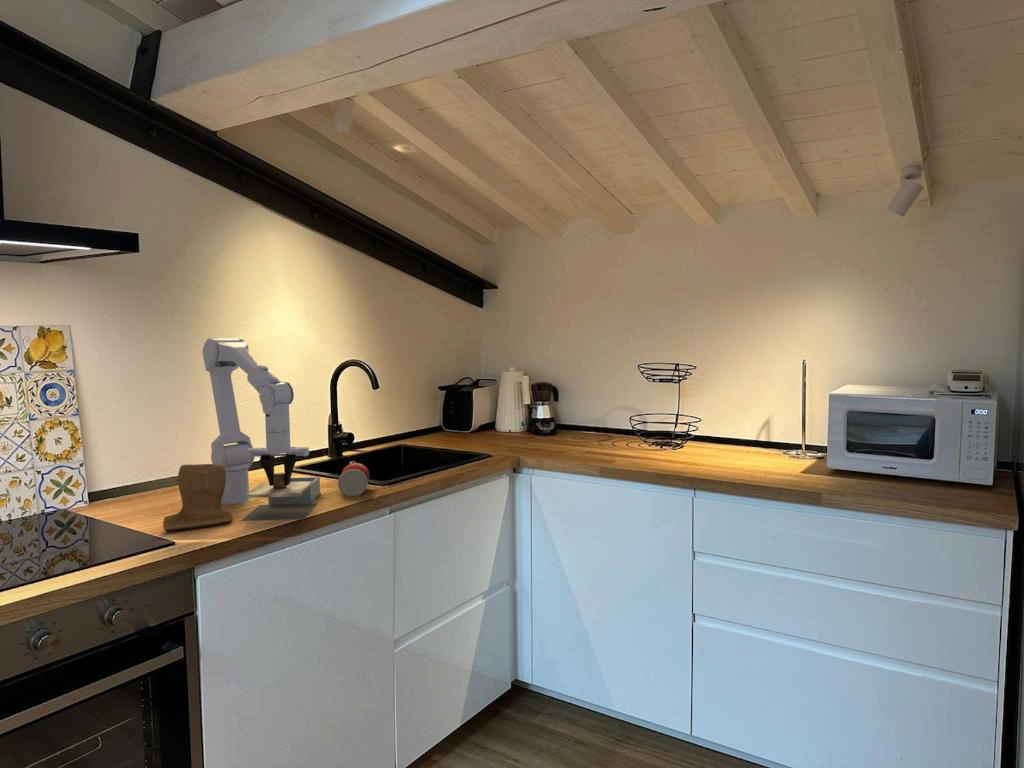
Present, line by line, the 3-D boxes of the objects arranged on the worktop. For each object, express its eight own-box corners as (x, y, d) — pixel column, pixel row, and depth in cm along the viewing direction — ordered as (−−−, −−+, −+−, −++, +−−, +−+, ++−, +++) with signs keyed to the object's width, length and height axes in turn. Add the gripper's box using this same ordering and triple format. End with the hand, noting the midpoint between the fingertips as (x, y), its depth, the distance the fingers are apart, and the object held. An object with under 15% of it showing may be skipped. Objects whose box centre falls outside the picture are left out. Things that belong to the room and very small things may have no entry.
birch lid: (245, 497, 165) (244, 480, 165) (261, 485, 178) (260, 469, 178) (299, 496, 166) (299, 478, 166) (312, 484, 179) (311, 468, 179)
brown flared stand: (227, 515, 172) (225, 456, 170) (235, 526, 161) (233, 463, 160) (159, 524, 164) (156, 462, 163) (164, 537, 154) (160, 471, 152)
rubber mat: (240, 522, 165) (240, 520, 165) (259, 506, 180) (259, 504, 180) (304, 520, 166) (303, 518, 166) (317, 505, 180) (317, 503, 180)
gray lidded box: (268, 505, 181) (268, 486, 180) (280, 495, 192) (279, 477, 191) (311, 504, 181) (310, 485, 181) (320, 494, 192) (319, 477, 192)
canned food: (336, 472, 198) (332, 480, 188) (360, 456, 199) (357, 464, 188) (351, 493, 200) (347, 502, 189) (374, 478, 200) (372, 486, 189)
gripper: (242, 433, 167) (245, 489, 168) (303, 433, 167) (305, 487, 168) (252, 429, 174) (254, 482, 175) (310, 428, 174) (311, 481, 175)
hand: (279, 484), depth 172 cm, fingers closed on birch lid, 3 cm apart
